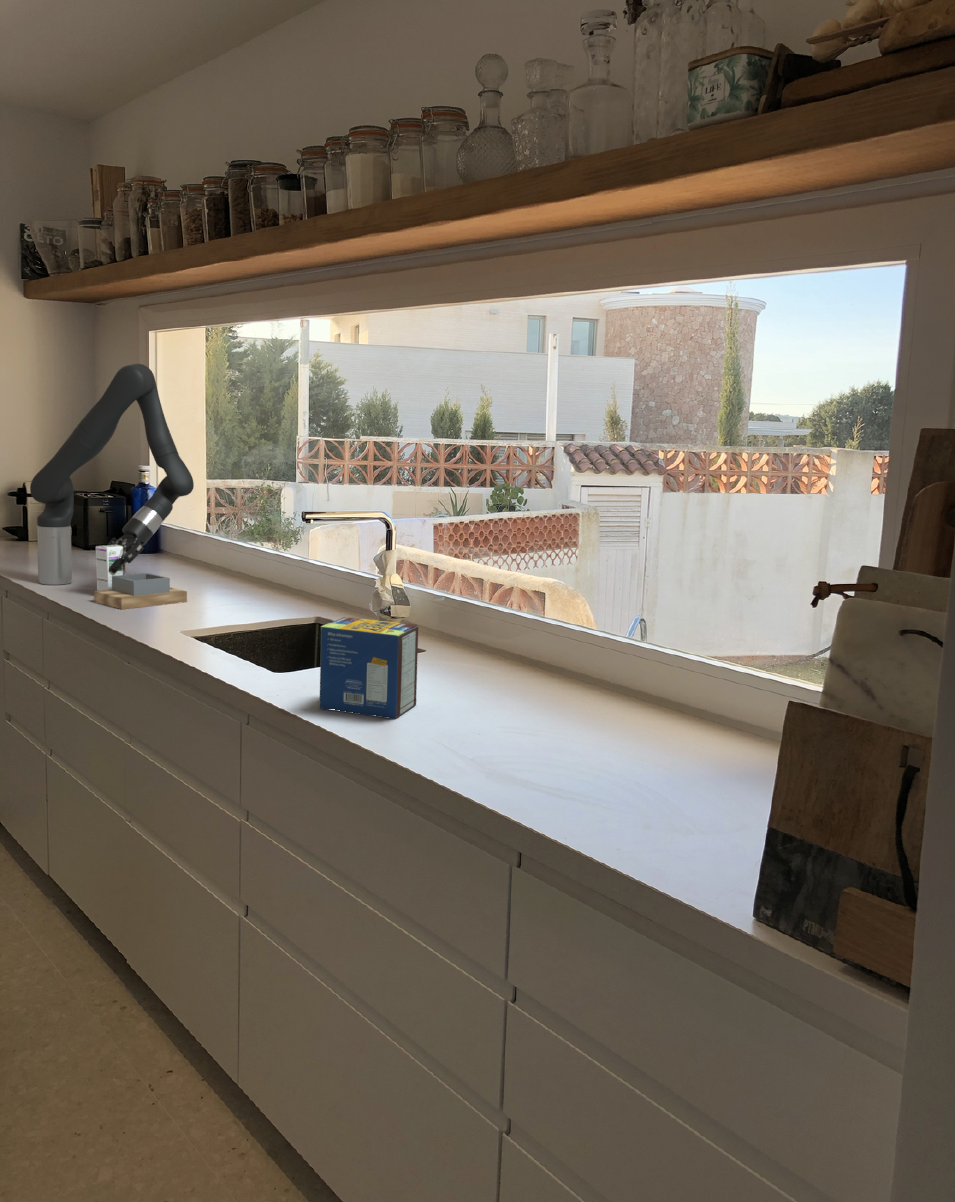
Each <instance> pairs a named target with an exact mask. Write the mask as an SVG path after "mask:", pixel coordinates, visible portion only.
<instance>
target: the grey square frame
mask: <svg viewBox="0 0 955 1202" xmlns="http://www.w3.org/2000/svg"><path fill="white" fill-rule="evenodd" d="M170 580H171V579H170V577H168V576H163V575H158V574H154V573H150V572H144V573H132V574H126V575H118V576H112V590H113V591H117V592H120V593H124V594H128V595H132V596H138V595H148V594H157V593H166V592H170V586H171V584H170V582H171V581H170Z"/></svg>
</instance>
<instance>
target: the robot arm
mask: <svg viewBox="0 0 955 1202" xmlns="http://www.w3.org/2000/svg"><path fill="white" fill-rule="evenodd" d="M157 385H158V384H157V383H156V379H155V375H154V373H153V372H152V370H151V369H150V368H149V367H148V366H147V365H145V364H142V363H133V364H128V365H125V366H122V367H120V368H119V369H118V371H117V372H116V374H115V375H114V376H113V379H112V380H111V381H110V383H109V385H107V386H108V387H107V388H106V390H105V392H104V393H103V394H102V396H101V397H100V398H99V400H98V401H97V402H96V403H95V404H94V405H93V406H92V408H90V410H89V411H88V412H87V413H86V415H85V416H84V417H83V418H82V419H81V420H80V422H79V423H78V424H77V426H76V427H75V429H73V431H72V432H71V434H70V435H69V437H68V438H67V439H66V440H65V442H64V443H63V444H62V445H61V446H60V448H59V449H58V451H57V452H56V453H55V454H54V456H53V457H52V458H51V459H50V460H49V461H48V462H47V463H46V464H45V465H44V466H43V467H42V468H41V469H40V470H39V471H38V472H37V473H36V474H35V475H34V477H32V480H31V481H30V487H29V490H30V491H29V492H30V495H31V497H32V499H34V500H35V501H36V502H38V503H42V504H44V505H45V506H44V509H43V511H42V512H41V513H40V514H39V515H38V516H37V518H36V526H37V527H36V530H37V574H38V575H37V577H38V579H37V580H38V584H41V585H49V586H51V585H53V586H54V585H68V584H71V583H72V582H73V581H72V580H73V571H72V569H73V568H72V567H73V566H72V564H73V563H72V536H71V535H72V532H71V531H72V529H71V527H72V526H71V523H72V518H73V515H74V500H75V498H74V497H75V494H74V493H75V491H74V484H73V483H74V482H73V481H72V478H71V476H72V475H73V474H74V472H76V471H77V470H78V469H80V468H81V467H82V466H84V465H86V464H87V463H89V462H90V461H91V460H92V459H94V458H95V457H97V456H98V455H99V454H100V453H101V452H102V450H103V449H104V448H105V446H106V445H107V444H108V443H109V441H110V440H111V439H112V437H113V435H114V433H115V431H116V429H117V427H118V424H119V422H120V419H121V418H122V416H123V415H124V413H125V412H126V411H127V410H128V409H129V407H130V406H131V405H133V404H134V402H137V404H138V407H139V409H140V411H141V414H142V418H143V423H144V430H145V436H146V437H145V438H146V441H147V444H148V447H149V450H150V453H151V455H152V456H153V460H154V462H155V464H156V465H157V466H158V467H159V468H161V469H163V470H164V474H165V475H166V476H165V477H163V479H162V480H161V481H160V482H159V483H158V485H157V486H156V488H155V490H154V492H153V494H152V495H151V496H150V497H149V499H148V500H147V501H146V502H145V503H144V504H143V506H142V507H141V508H139V510H138V511H136V512H135V514H134V515H132V517H131V518H130V519H129V520H128V521H127V523H126V524H124V526H123V528H122V529H121V530H122V531H121V532H122V536H121V537H119V538H118V539H117V538H116V537H112V538H111V539H110V541H109V542H108V543H107V545H121V546H123V548H122V549H121V550H120V554H119V556H118V559H116V560H115V561H114V562H113V564H112V565H111V566H110V567H109V570H110V571H111V572H112V573H116V572H117V571H118V570H119V568H120V567H121V566H122V565H123V564H125V565H126V563H128V564H130V563H132V562H133V560H135V559H136V558H137V557H138V555H140V553H142V551H143V550H144V549H145V548H144V546H145V545H146V544H147V543H148V541H149V540H151V538H152V537H153V536H154V534H155V533H156V532H157V530H159V528H160V527H161V525H162V523H164V521H165V520H166V519H167V517H168V516H169V515H170V514H171V512H172V511H173V508H174V507H173V505H174V503H176V501H177V500H178V499H179V498H180V497H187V496H188V495H190V494H191V493H192V492H193V490H194V479H193V476H192V474H191V472H190V470H189V468H188V467H187V465H186V464H185V462H184V460H182V458H181V456H180V455H179V454H180V453H179V452H178V449H177V446H176V443H175V442H174V439H173V437H172V434H171V431H170V429H169V426H168V423H167V420H166V417H165V414H164V410H163V406H162V403H161V400H160V395H159V391H158V386H157ZM123 555H124V556H123Z"/></svg>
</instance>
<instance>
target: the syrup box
mask: <svg viewBox="0 0 955 1202" xmlns="http://www.w3.org/2000/svg"><path fill="white" fill-rule="evenodd" d="M122 548H123V546H121V545H108V544H107V545H96V546H95V564H96V568H95V569H96V589H97V590H96V591H100V590H111V589H112V576H118V575H127V574H126V564H123V565H122V566H121V567H120V568H119V570H118V571H117V572H116V573H112V572H111V571H110V570H109V567H110V566H111V565H112V564H113V562H114V561H115V560H116V559H118V556H119V554H120V550H121V549H122ZM123 556H124V555H123Z"/></svg>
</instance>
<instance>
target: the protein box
mask: <svg viewBox="0 0 955 1202" xmlns="http://www.w3.org/2000/svg"><path fill="white" fill-rule="evenodd" d="M418 647H419V624H416V623H405V622H396V621H395V622H394V621H385V620H384V621H383V620H377V619H367V618H365V619H363V618H355V617H349V616H347V617H346V616H345V617H344V616H343V617H341V618H339V619H336V620H334V621H331V622H328V623H326V624H323V625H321V626H320V664H319V666H320V667H319V670H320V671H319V701H318V702H319V703H318V704H319V705H318V706H319V707H318V709H320V708H323V709H322V710H325V709H335V710H340V711H346V712H353V713H360V714H359V715H361V714H364V715H363V716H368V715H376V716H382V717H381V718H383V717H389V718H388V719H390V718H394V719H393V720H396V718H397V719H398V718H399V716H400V717H401V716H402V715H404V714H405V713H407V712H408V711H409V710H411V709H413V707H415V706H416V705H417V685H418V684H417V683H418V655H419V654H418V652H419V651H418V650H419V648H418ZM346 712H345V713H346ZM353 713H352V714H353ZM365 714H366V715H365Z"/></svg>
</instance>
